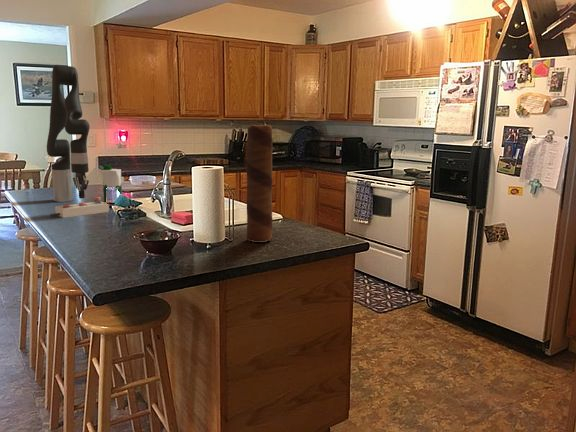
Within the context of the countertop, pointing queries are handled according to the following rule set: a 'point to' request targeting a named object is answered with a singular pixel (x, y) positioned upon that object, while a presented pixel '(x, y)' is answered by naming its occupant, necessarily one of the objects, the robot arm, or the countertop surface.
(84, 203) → the button
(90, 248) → the countertop surface
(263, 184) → the wafer roll
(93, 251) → the countertop surface
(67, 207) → the button
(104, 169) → the milk carton
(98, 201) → the button
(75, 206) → the button panel
